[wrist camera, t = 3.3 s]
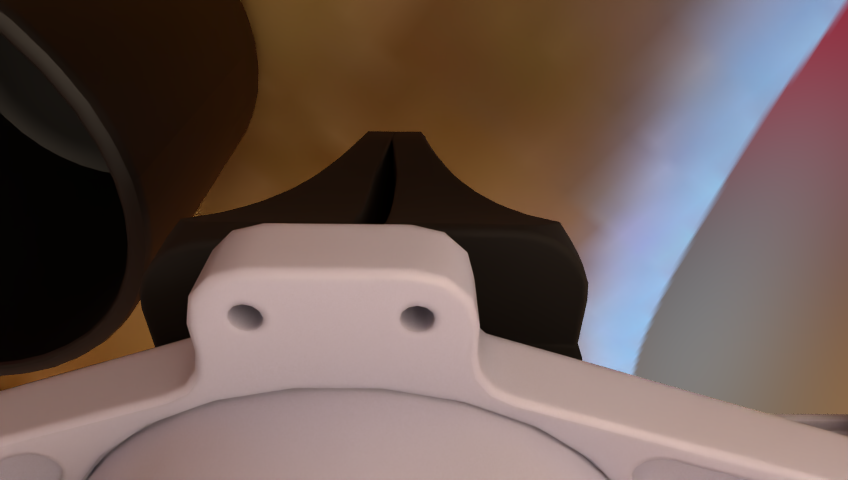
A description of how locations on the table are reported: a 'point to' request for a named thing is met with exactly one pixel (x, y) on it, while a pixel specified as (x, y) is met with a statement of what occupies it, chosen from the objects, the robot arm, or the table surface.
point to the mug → (106, 155)
